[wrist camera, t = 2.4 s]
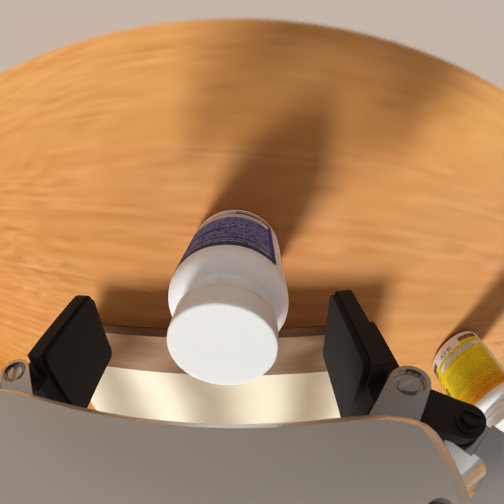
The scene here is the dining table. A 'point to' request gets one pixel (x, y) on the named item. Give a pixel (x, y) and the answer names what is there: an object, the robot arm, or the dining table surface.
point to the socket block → (213, 395)
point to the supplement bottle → (472, 375)
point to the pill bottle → (228, 300)
